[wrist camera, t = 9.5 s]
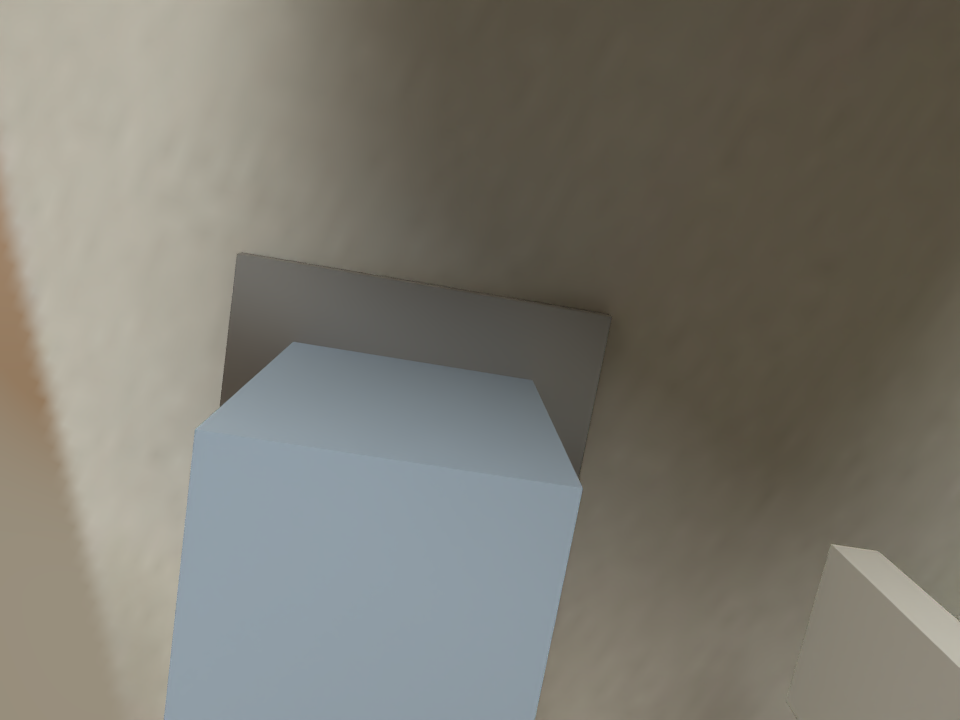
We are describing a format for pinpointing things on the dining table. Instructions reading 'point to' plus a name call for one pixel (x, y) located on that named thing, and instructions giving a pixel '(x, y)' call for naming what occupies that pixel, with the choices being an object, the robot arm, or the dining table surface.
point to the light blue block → (371, 545)
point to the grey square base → (417, 332)
